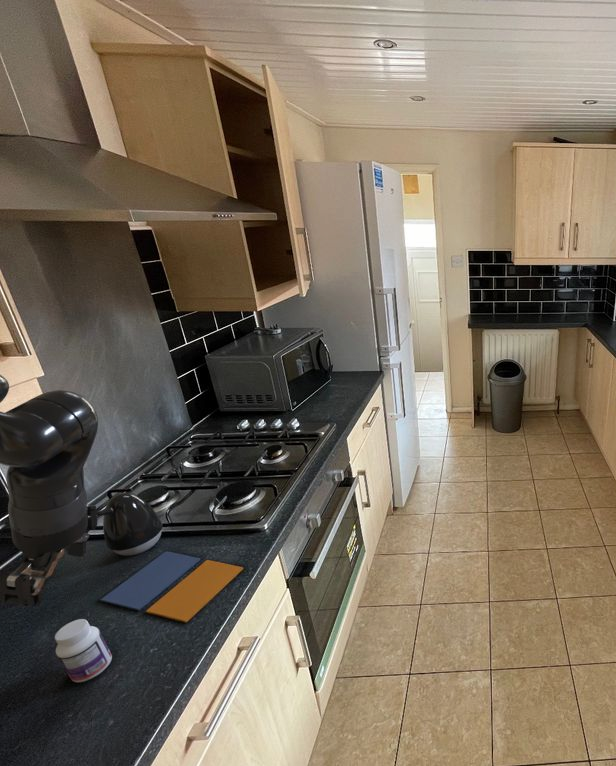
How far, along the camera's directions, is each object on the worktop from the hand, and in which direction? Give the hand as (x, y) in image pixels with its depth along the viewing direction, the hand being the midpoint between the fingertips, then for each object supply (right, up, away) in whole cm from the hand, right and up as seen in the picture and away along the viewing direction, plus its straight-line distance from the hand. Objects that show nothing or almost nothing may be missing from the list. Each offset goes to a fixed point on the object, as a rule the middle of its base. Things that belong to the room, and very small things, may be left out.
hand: (55, 577), depth 67 cm
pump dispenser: (-17, -9, +34) cm, 39 cm away
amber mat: (+6, -13, +23) cm, 27 cm away
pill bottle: (-1, -20, +7) cm, 21 cm away
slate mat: (-6, -12, +25) cm, 29 cm away
